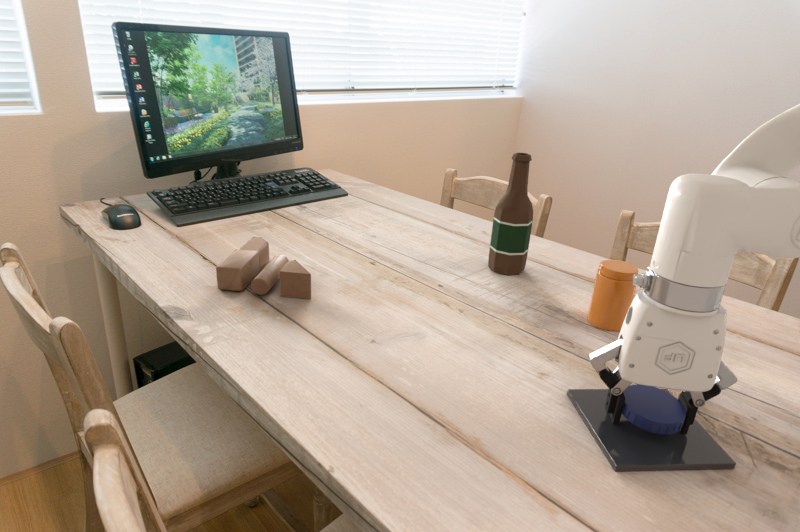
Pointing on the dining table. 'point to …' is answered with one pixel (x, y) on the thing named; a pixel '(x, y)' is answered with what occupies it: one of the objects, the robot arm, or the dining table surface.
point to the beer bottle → (512, 222)
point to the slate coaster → (646, 440)
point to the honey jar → (612, 294)
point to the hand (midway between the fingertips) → (646, 421)
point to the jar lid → (653, 409)
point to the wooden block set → (247, 265)
